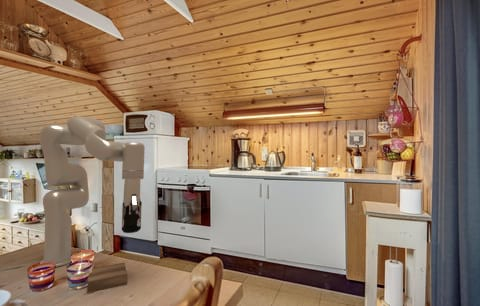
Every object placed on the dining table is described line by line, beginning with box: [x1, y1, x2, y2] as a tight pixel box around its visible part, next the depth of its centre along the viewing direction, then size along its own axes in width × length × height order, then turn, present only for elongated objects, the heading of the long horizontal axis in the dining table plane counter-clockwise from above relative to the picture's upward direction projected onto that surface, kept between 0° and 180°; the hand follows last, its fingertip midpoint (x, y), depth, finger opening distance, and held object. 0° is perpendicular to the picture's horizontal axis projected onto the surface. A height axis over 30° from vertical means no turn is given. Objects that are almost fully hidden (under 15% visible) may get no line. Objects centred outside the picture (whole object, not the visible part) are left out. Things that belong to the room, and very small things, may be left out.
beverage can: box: [121, 199, 143, 234], centre depth 92 cm, size 7×7×12 cm
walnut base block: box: [86, 262, 128, 294], centre depth 90 cm, size 12×12×4 cm
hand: (131, 222), depth 92 cm, fingers closed on beverage can, 6 cm apart
